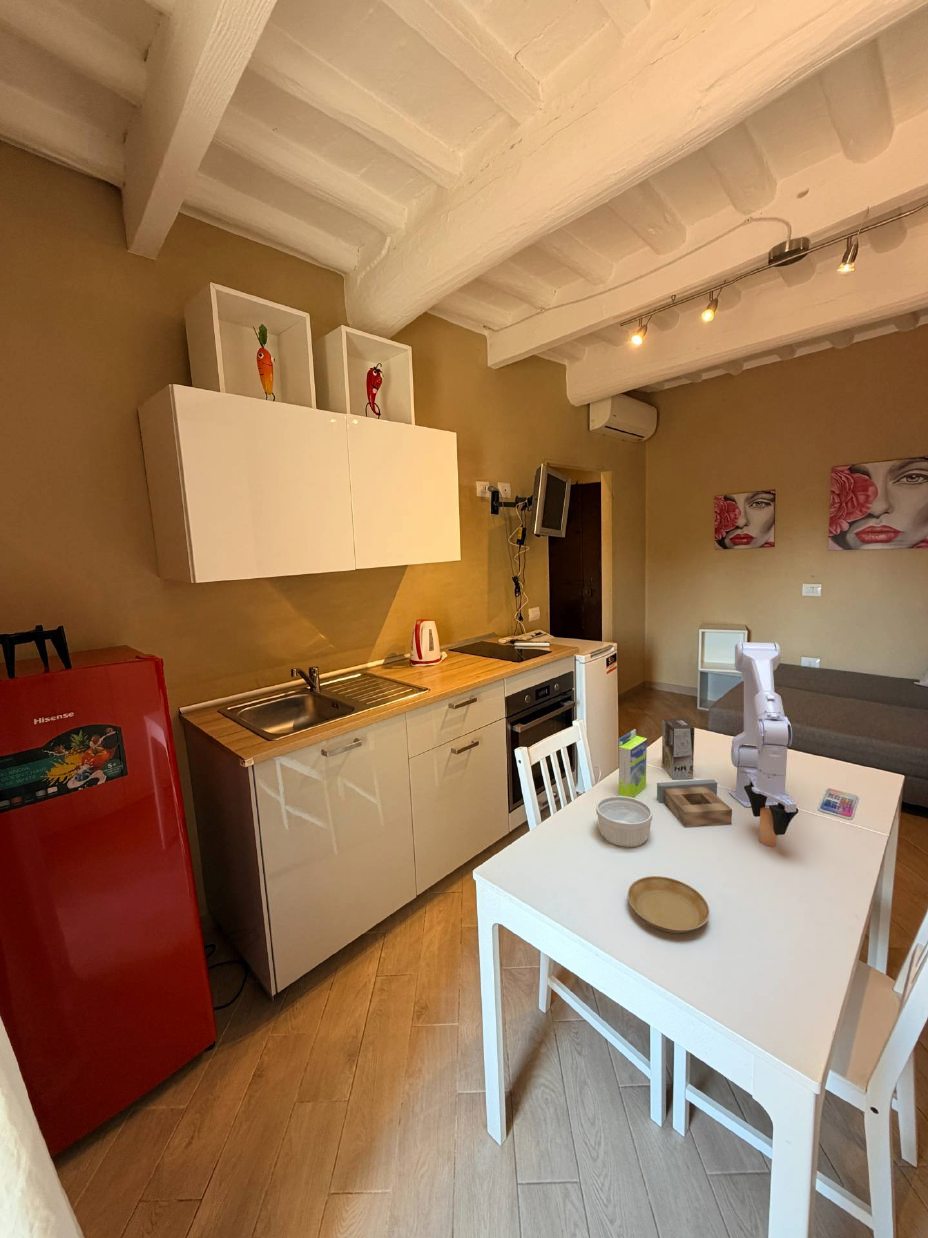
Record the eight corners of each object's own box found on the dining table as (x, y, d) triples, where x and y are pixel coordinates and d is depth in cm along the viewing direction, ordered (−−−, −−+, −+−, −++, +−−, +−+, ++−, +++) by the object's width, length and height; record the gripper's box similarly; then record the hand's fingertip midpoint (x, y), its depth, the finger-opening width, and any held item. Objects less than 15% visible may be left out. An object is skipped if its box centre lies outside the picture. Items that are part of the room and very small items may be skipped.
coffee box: (694, 779, 148) (695, 728, 146) (672, 779, 148) (673, 728, 146) (681, 765, 157) (682, 717, 155) (661, 766, 157) (661, 718, 155)
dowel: (769, 837, 118) (771, 806, 117) (779, 846, 115) (781, 814, 114) (755, 838, 118) (757, 807, 117) (765, 847, 115) (766, 815, 113)
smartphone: (859, 796, 134) (852, 819, 123) (859, 799, 134) (852, 822, 124) (826, 787, 139) (817, 808, 128) (826, 790, 139) (816, 812, 129)
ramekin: (586, 837, 122) (586, 811, 121) (611, 814, 131) (611, 790, 130) (638, 858, 113) (638, 830, 112) (660, 832, 122) (661, 806, 121)
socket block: (706, 800, 136) (706, 786, 135) (731, 824, 124) (731, 809, 124) (663, 802, 136) (663, 789, 135) (684, 827, 124) (685, 812, 123)
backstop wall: (712, 796, 138) (713, 779, 137) (716, 799, 136) (717, 782, 135) (656, 799, 138) (657, 782, 137) (660, 803, 136) (660, 786, 135)
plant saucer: (612, 910, 98) (612, 898, 97) (653, 877, 107) (653, 866, 106) (683, 956, 86) (684, 943, 86) (723, 915, 95) (723, 903, 95)
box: (630, 801, 137) (631, 742, 135) (616, 796, 140) (617, 739, 138) (647, 787, 144) (648, 731, 142) (634, 783, 147) (634, 728, 145)
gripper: (735, 758, 121) (733, 809, 123) (775, 786, 106) (772, 844, 108) (763, 756, 121) (761, 807, 123) (807, 784, 107) (803, 842, 109)
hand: (768, 824), depth 116 cm, fingers open, 7 cm apart
